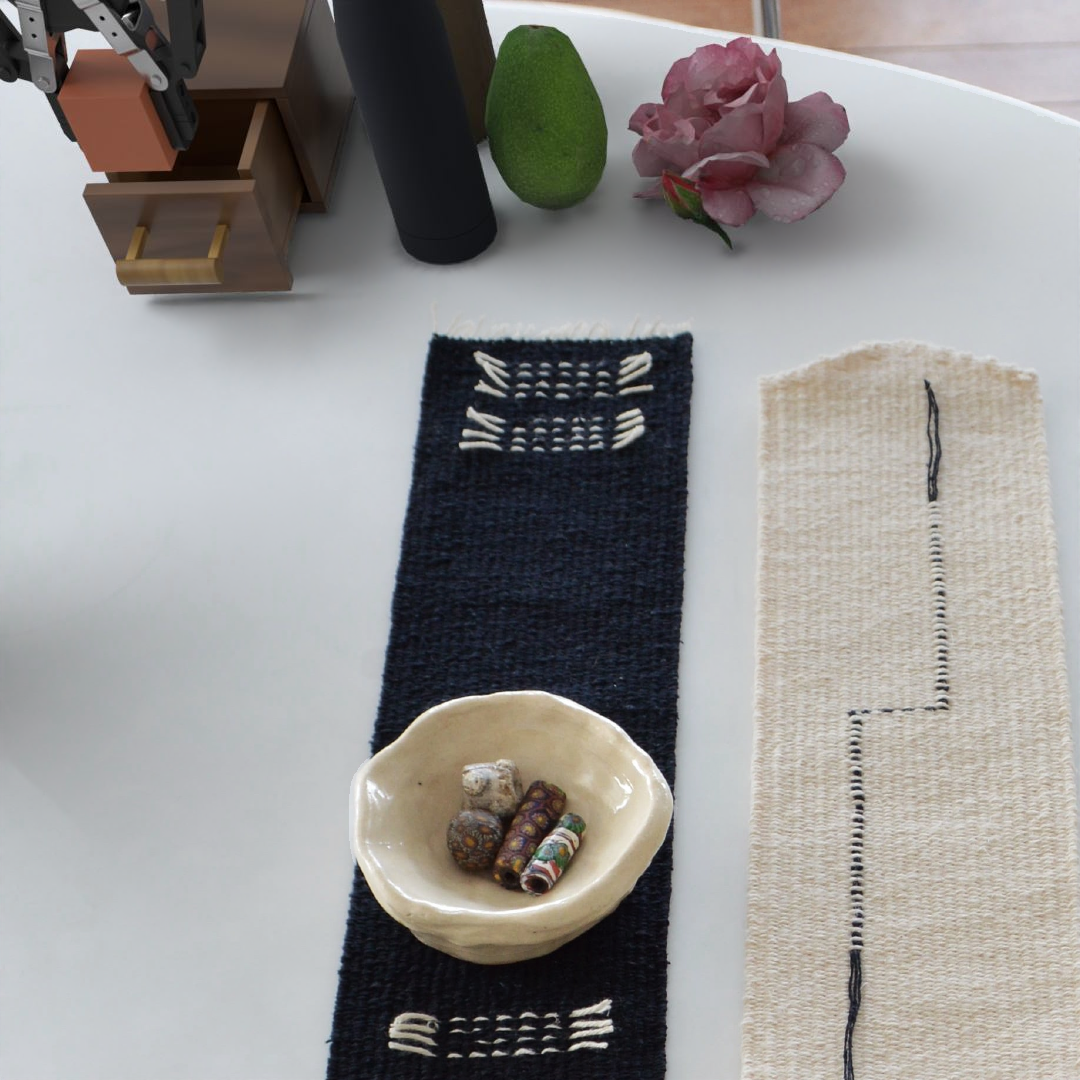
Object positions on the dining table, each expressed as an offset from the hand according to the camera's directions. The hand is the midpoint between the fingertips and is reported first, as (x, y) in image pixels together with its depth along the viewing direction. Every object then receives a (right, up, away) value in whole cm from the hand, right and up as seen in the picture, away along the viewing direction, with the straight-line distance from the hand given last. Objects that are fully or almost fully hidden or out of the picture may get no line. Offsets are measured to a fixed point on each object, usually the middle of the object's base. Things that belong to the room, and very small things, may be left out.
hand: (138, 141), depth 97 cm
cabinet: (-3, +10, +25) cm, 27 cm away
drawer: (-3, +1, +18) cm, 18 cm away
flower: (+31, +5, +21) cm, 38 cm away
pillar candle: (+9, +14, +27) cm, 32 cm away
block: (0, 0, 0) cm, 0 cm away
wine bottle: (+12, +3, +20) cm, 23 cm away
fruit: (+19, +6, +22) cm, 30 cm away
